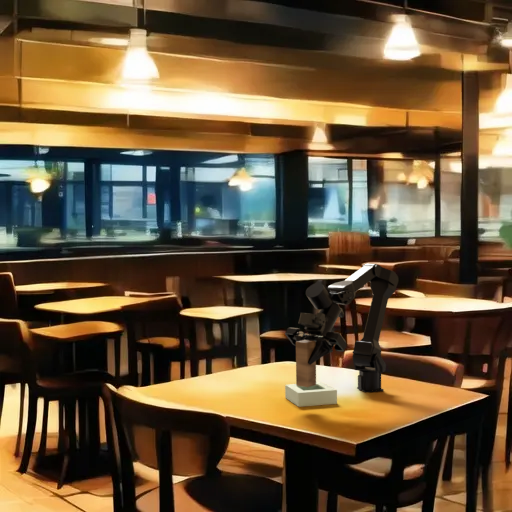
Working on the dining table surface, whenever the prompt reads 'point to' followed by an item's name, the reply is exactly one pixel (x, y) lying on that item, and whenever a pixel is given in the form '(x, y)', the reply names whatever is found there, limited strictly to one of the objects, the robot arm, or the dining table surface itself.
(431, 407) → the dining table surface
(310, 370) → the walnut block
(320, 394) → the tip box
